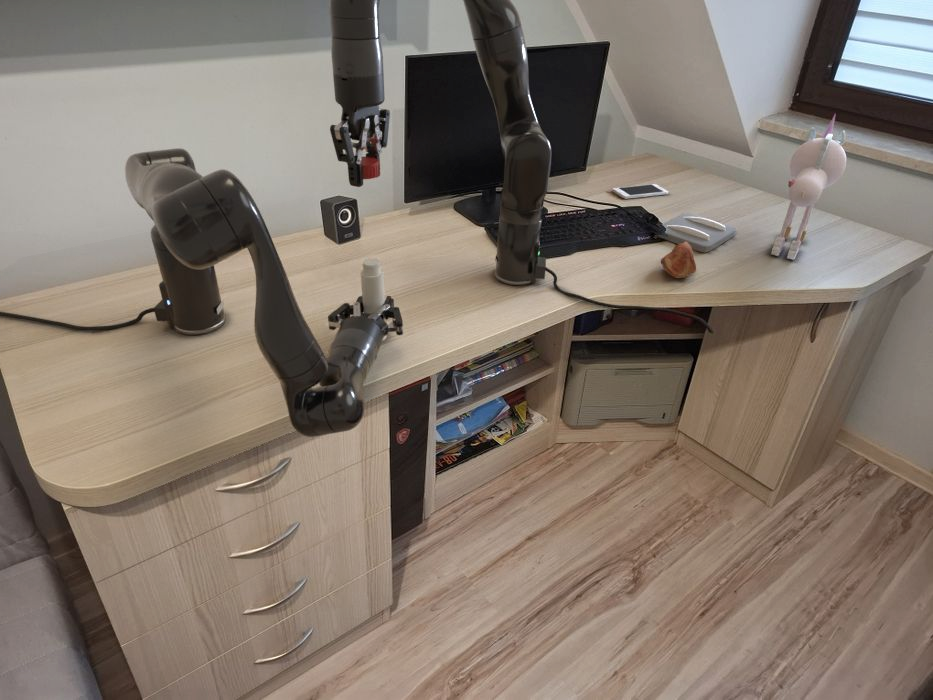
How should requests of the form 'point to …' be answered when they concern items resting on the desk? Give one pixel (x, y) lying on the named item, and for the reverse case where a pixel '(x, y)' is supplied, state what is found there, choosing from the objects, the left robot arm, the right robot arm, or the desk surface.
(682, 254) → the fossil
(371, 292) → the jar
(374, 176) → the lid
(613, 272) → the desk surface
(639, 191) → the smartphone
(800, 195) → the toy
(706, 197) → the desk surface
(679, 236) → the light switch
